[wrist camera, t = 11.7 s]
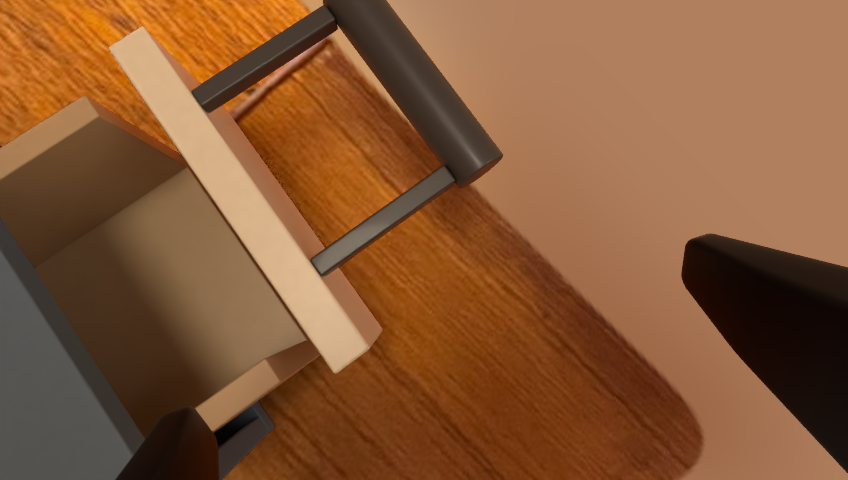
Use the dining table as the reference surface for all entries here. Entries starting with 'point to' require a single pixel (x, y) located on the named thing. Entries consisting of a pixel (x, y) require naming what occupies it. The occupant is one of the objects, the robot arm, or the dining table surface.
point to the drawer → (214, 222)
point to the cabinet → (70, 392)
